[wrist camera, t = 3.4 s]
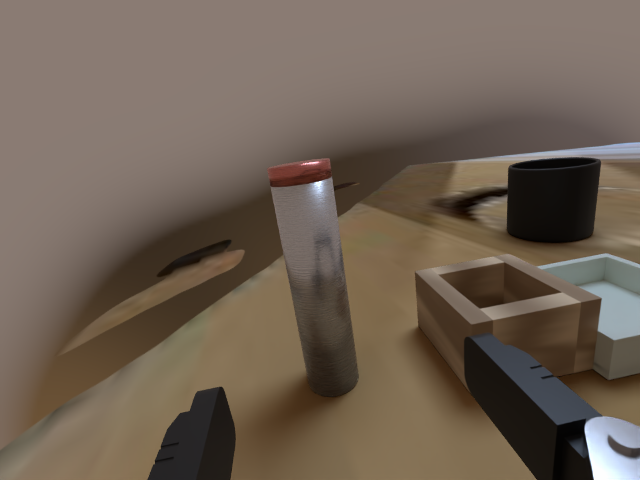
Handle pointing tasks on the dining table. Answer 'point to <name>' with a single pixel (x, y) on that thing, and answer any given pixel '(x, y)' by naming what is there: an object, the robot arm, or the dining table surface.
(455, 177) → the dining table surface
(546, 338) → the block
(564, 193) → the mug
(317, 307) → the cylinder
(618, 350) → the tray
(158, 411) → the dining table surface
